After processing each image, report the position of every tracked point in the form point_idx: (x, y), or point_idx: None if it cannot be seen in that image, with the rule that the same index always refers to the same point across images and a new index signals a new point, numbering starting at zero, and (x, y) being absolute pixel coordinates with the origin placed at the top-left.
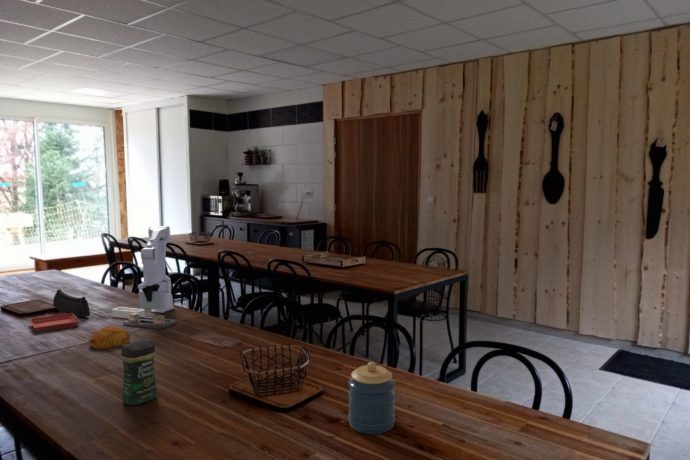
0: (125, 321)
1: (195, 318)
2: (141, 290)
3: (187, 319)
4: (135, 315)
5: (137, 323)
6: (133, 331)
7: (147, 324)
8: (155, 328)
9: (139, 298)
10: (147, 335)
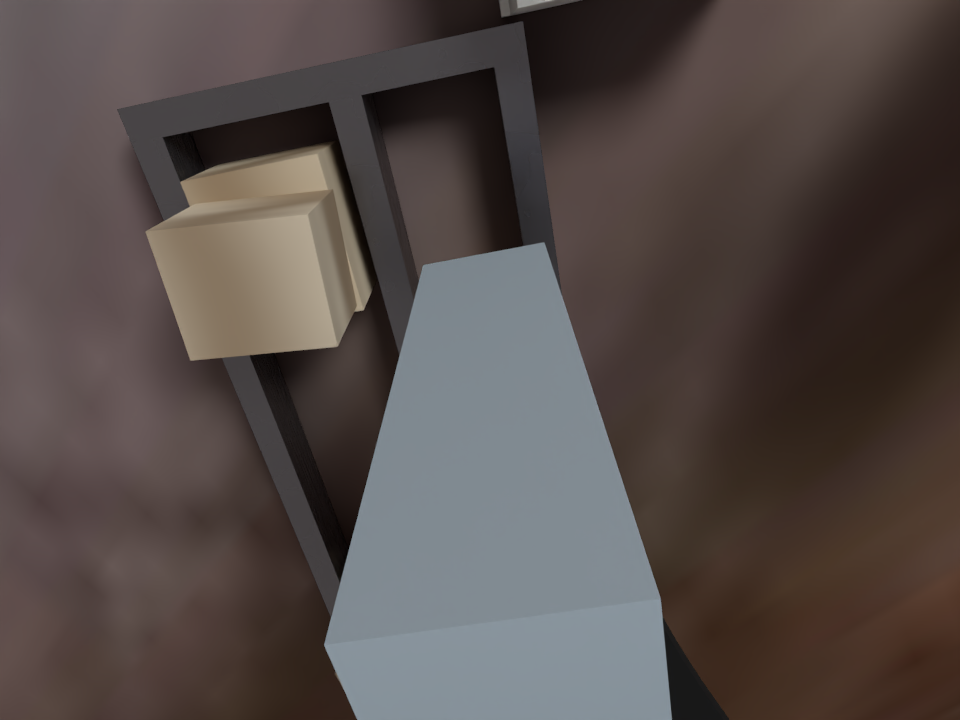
0: (149, 142)
1: (857, 657)
2: (574, 621)
3: (793, 621)
4: (237, 348)
5: (242, 396)
6: (113, 491)
7: (301, 540)
8: None
9: (393, 396)
10: (158, 685)
